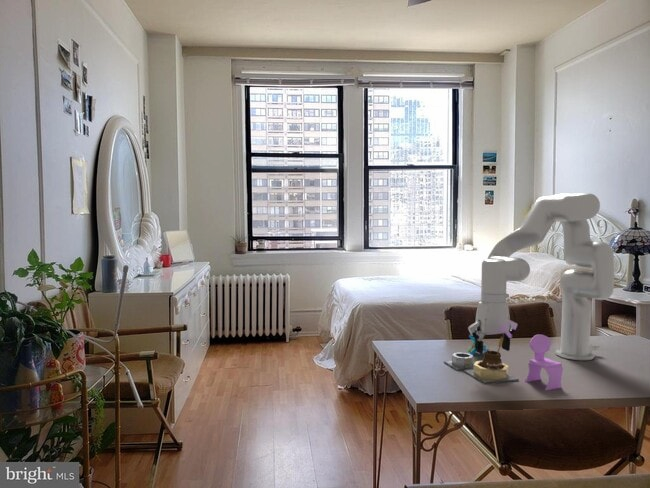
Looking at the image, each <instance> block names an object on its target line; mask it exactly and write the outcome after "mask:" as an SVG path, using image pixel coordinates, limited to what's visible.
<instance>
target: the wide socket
mask: <svg viewBox="0 0 650 488" xmlns="http://www.w3.org/2000/svg"><path fill="white" fill-rule="evenodd" d="M474 363H475V364H474V369H471V370H463V372H464V373H465V374H468V376H470V377H472V378H473V379H476V380H477V381H479V382H480V383H483V384H484V385H488V384H489V385H491V384H499V383H508V382H519V380H520V379H519V378H518V377H516V376H514V375H512V374H510V373H509V368H510V367H509V365H507V364H505V363H503V362H502V369H488V368H483V367H482V360H476V361H475V362H474Z"/></svg>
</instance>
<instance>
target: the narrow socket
mask: <svg viewBox="0 0 650 488" xmlns="http://www.w3.org/2000/svg"><path fill="white" fill-rule="evenodd" d="M474 358H475V357H474V354H473V355H471V354H470V353H468V352H454V353H452V354H451V360H444V364H446V365H447V366H449V367H450V368H452V369H453V370H455V371H457V372H458V371H459V372H460V371H464V370H471V369H474V364H475V362H474Z"/></svg>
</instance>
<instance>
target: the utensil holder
mask: <svg viewBox="0 0 650 488" xmlns="http://www.w3.org/2000/svg"><path fill="white" fill-rule="evenodd" d="M502 338H503V337H502V336H500V339H499V341H498V346H497V347H498V349H497V351H496V350H492V349H489V351H485V352H484V351H483V358H482V360H481V361H482V367H483V368H488V369H502V363H503V362H502V361H503V360H502V359H501V356H502V355H501V352H500V349H501V348H502V342H503V339H502ZM486 342H487V345H488V346H486V344H485V343H486ZM489 344H490V347H492V346H491V342H490V341H489V340H487V339H485V340H483V346H484V345H485V346H486V347H488V348H489ZM484 350H485V349H484Z"/></svg>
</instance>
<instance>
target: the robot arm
mask: <svg viewBox="0 0 650 488" xmlns="http://www.w3.org/2000/svg"><path fill="white" fill-rule="evenodd" d="M600 208H601V202H600V199H599V198H598V196H596V194H593V193H591V192H589V193H586V192H585V193H583V192H582V193H557V194H553V195H546V196H545V195H544V196H540V197H538V198H537V199H536V200H535V201H534V203H533V204H532V206H531V208H530V210H529V211H528V212H527V215H526V216H525V217H524V219H523V221H522V222H521V224H520V226H519V227H518V228H517V229H515V230H514V231H513V232H510V233H509V234H508V235H506V236H505V237H503V238H502V239H500V240H499V241H498V242H497V243H496V244H495V245H494V247H493V248H492V250H491V251H490V253H489V255H488V257H487V258H486V259H484V260H483V261H482V262H481V282H480V283H481V287H480V289H481V291H480V292H481V294H480V301H478V303H477V309H476V313H475V322H474V323H471V325H469V326H468V327H467V329H468V332H469V335H471V336H472V337H473V338H474V339H475V348H474V349H476V352H477V353H478V354H481V355H482V354H484V351H483V345H484V344H483V343H484V340H483V339H484V338H485V336H487V335H501V334H502V335H503V336H501V337H503V338H501V339H503V342H502V346H501V349H502V350H504V351H506V352H509V351H510V347H511V339H512V338H513V335H514V334H515V333H516V329H517V328H518V323H517V322H515V321H513V320H511V317H510V309H509V303H508V302H507V299H508V298H509V297H510V294H509V293H507V282H521V281H524V280H526V279H527V278H528V276H529V275H530V272H531V267H530V264H529V262H528V261H526V260H525V259H523V258H521V257H515V256H512V255H513V254H516V253H517V252H519V251H521V250H525V249H528V248H530V247H534V246H537V245H539V244H541V243H542V242H543V241H544V240H545V238H546V237H547V234H548V233H549V231H550V229H551V228H552V226H553V224H554V223H555V222H559V223H560V225H561V227H562V230H563V256H564V261H565V263H566V264H568V265H570V266H573V267H580V268H588V269H592V270H593V271H592V270H586V269H576V268H573V269H567V270H566V271H564V272H563V273H562V274H561V276H560V281H559V285H560V291H561V301H562V302H561V305H562V306H561V325H560V326H561V327H560V331H561V332H560V348H557V349H556V350H555V354H556V355H557V356H558V357H560V358H563V359H566V360H567V359H568V360H574V361H591V360H594V358H595V354H594V353H593V351H600V349H601V345H599V344H592V343H590V342H591V325H592V324H591V323H592V322H591V321H592V307H591V304H590V302H589V300H588V299H593V300H599V301H605V300H608V299H609V298H611V296H612V295H613V292H614V287H615V264H614V263H615V262H614V261H615V260H614V257H615V256H614V252H613V249H612V247H611V245H610V244H609V243H607V242H605V241H601V240H600V241H599V240H598V241H597V240H592V238H591V231H590V229H591V228H590V224H589V221H588V220H591V219H594V217H595V216H597V215H598V213H599V211H600ZM476 352H475V353H476Z"/></svg>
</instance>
